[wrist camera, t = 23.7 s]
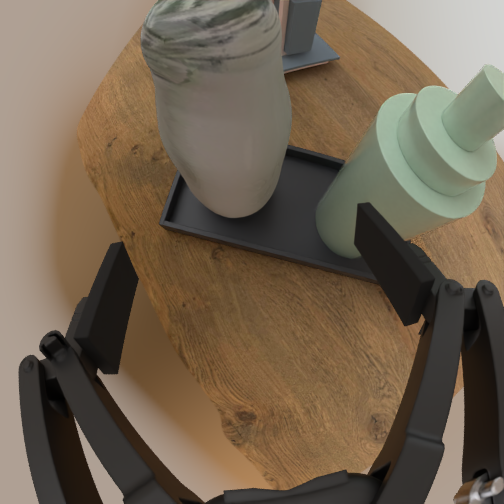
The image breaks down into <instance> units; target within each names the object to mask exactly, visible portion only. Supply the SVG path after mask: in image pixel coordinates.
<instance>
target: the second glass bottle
mask: <svg viewBox="0 0 504 504" xmlns="http://www.w3.org/2000/svg"><path fill="white" fill-rule="evenodd" d="M502 130H504V74H503V73H502V72H501V71H500V70H499V69H497V68H496V67H494V66H492V65H490V64H485V65H484V66H483V67H482V69H481V70H480V71H479V72H478V73H477V74H476V75H475V76H474V78H473V79H472V80H471V81H470V82H469V83H468V84H467V85H466V86H465V88H464V89H463V90H462V91H461V92H460V93H459V94H456V93H455V92H453V91H451V90H449V89H446V88H444V87H440V86H428V87H425V88H423V89H422V90H420V91H419V93H418V94H413V93H403V94H398V95H394V96H392V97H390V98H389V99H387V100H386V101H385V102H384V103H383V104H382V106H381V107H380V109H379V110H378V112H377V113H376V115H375V117H374V118H373V120H372V121H371V123H370V124H369V126H368V128H367V129H366V131H365V132H364V134H363V135H362V137H361V138H360V140H359V141H358V143H357V145H356V146H355V148H354V149H353V151H352V152H351V154H350V155H349V157H348V158H347V160H346V161H345V163H344V164H343V166H342V167H341V169H340V170H339V172H338V173H337V175H336V176H335V178H334V179H333V181H332V182H331V184H330V185H329V187H328V188H327V190H326V191H325V193H324V194H323V196H322V197H321V199H320V201H319V203H318V205H317V209H316V215H315V221H316V227H317V230H318V233H319V235H320V237H321V239H322V241H323V242H324V243H325V245H326V246H327V247H328V248H329V249H330V250H332V251H333V252H334V253H336V254H337V255H340V256H342V257H345V258H349V259H361V258H363V257H362V256H361V254H360V253H359V251H358V250H357V248H356V247H355V245H354V236H355V226H356V215H357V204H358V203H366V202H370V203H371V204H372V205H373V207H374V208H375V209H376V210H377V211H378V212H379V213H380V214H381V215H382V216H383V217H384V218H385V219H386V220H387V222H388V223H389V224H390V225H391V226H392V227H393V228H394V229H395V230H396V231H397V233H398V234H399V235H400V236H401V237H402V238H403V239H404V241H405V242H406V241H409V240H411V239H414V238H416V237H419V236H421V235H424V234H426V233H428V232H431V231H433V230H436V229H438V228H441V227H443V226H445V225H448V224H450V223H452V222H455V221H457V220H459V219H462V218H464V217H466V216H468V215H470V214H472V213H473V212H474V211H475V210H476V209H477V208H478V206H479V205H480V203H481V201H482V198H483V195H484V191H485V181H486V180H488V179H489V178H491V176H492V175H493V174H494V172H495V169H496V165H497V154H496V148H495V144H494V141H493V137H495V136H496V135H497V134H499V132H501V131H502Z"/></svg>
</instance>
